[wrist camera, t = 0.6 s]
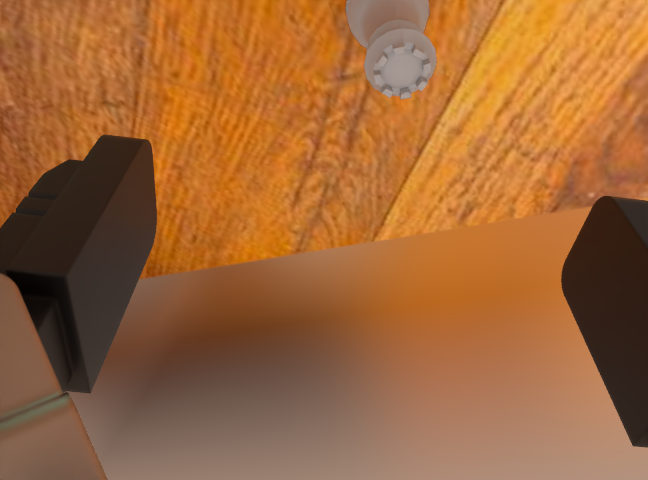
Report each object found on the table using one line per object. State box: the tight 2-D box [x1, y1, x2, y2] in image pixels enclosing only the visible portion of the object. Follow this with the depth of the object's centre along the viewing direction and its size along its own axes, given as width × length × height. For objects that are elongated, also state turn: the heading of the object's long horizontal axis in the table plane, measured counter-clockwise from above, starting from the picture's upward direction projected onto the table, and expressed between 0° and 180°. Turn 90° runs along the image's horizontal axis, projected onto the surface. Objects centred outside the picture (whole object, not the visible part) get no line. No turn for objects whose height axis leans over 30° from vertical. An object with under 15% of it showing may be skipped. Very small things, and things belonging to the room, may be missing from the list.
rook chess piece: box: [345, 0, 437, 99], centre depth 28 cm, size 4×4×8 cm
